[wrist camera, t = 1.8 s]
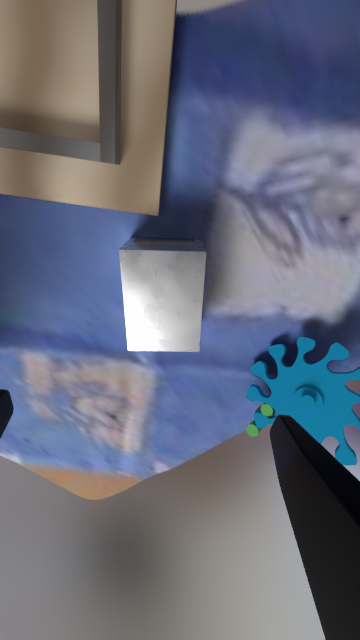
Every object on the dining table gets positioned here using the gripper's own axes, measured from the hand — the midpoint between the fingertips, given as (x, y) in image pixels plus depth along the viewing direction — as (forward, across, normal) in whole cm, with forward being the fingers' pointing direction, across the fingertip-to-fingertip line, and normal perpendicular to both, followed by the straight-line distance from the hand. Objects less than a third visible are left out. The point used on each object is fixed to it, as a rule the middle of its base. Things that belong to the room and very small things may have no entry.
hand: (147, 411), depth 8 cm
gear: (+12, -12, +7) cm, 19 cm away
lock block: (+12, 0, 0) cm, 12 cm away
